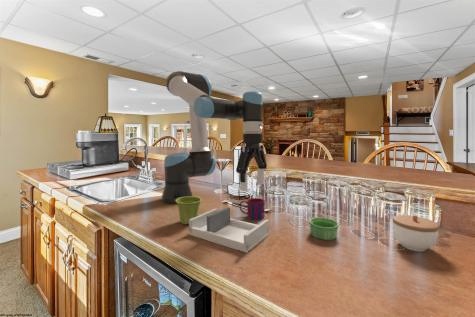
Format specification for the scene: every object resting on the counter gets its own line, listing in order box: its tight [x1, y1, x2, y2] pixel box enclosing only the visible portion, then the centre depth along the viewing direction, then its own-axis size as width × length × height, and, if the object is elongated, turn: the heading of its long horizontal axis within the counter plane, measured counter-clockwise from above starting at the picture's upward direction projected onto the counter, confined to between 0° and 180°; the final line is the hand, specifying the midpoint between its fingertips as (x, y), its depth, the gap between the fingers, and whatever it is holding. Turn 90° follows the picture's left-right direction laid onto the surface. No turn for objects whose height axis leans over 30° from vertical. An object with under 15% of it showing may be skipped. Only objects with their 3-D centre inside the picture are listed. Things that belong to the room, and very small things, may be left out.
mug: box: [239, 197, 266, 221], centre depth 93 cm, size 7×10×7 cm
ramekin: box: [309, 216, 340, 241], centre depth 76 cm, size 9×9×4 cm
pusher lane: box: [188, 208, 270, 254], centre depth 76 cm, size 22×14×5 cm, turn 57°
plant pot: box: [176, 196, 202, 225], centre depth 87 cm, size 9×9×9 cm
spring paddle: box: [207, 206, 231, 233], centre depth 78 cm, size 1×11×6 cm, turn 147°
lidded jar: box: [392, 214, 440, 253], centre depth 68 cm, size 11×11×9 cm
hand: (252, 187), depth 91 cm, fingers open, 13 cm apart
